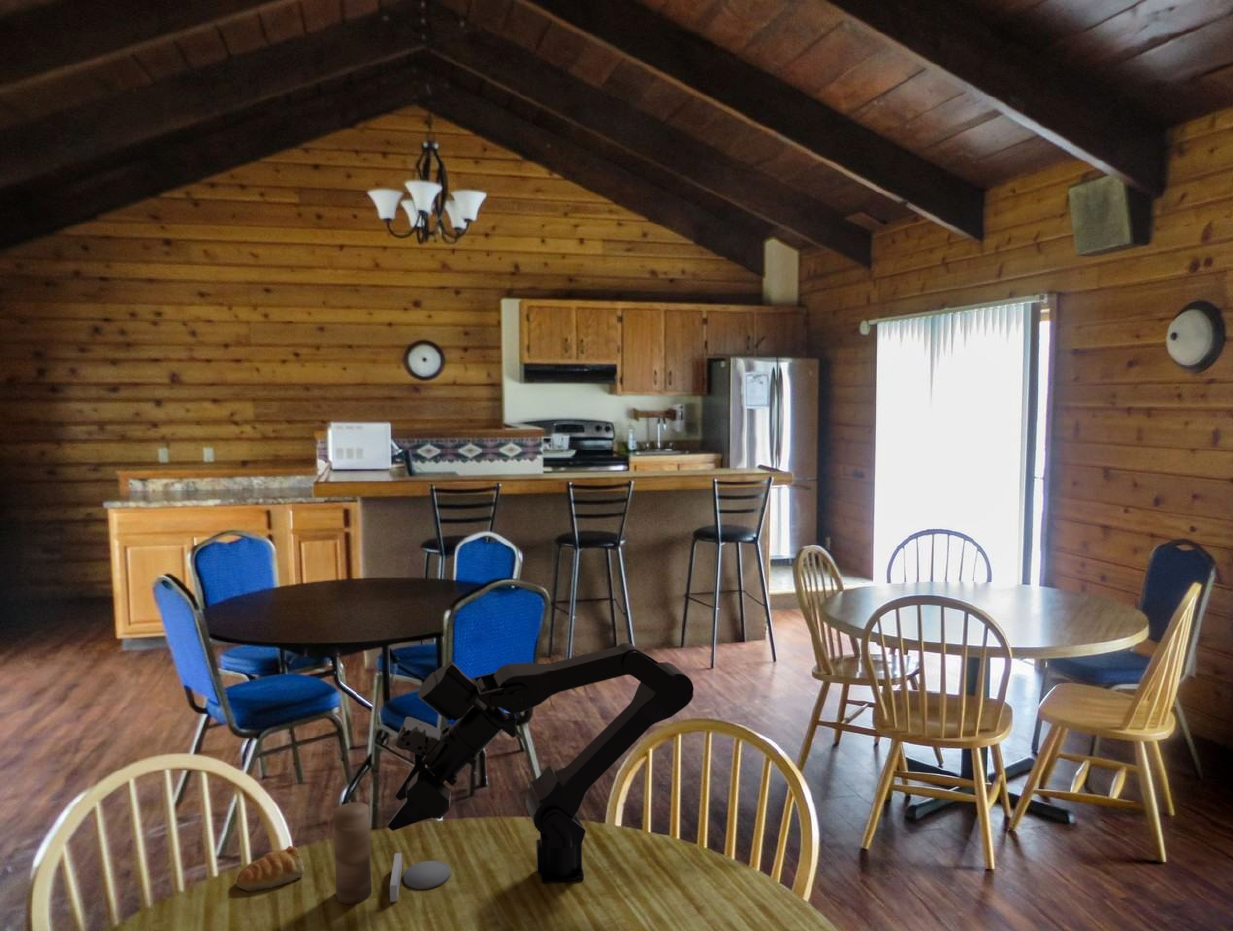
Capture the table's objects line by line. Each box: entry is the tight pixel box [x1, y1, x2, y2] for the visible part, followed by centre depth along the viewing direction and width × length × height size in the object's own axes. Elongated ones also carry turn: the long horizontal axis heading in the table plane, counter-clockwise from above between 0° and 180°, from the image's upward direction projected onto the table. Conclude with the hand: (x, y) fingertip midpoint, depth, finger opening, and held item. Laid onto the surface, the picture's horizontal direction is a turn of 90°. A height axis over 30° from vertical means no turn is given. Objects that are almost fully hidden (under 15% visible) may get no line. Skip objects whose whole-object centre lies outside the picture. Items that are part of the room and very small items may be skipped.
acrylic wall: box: [389, 852, 403, 903], centre depth 133 cm, size 1×9×2 cm, turn 9°
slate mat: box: [403, 860, 451, 890], centre depth 136 cm, size 7×7×1 cm
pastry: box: [236, 845, 305, 892], centre depth 135 cm, size 9×7×4 cm
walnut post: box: [333, 801, 372, 905], centre depth 130 cm, size 5×5×13 cm
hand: (393, 812), depth 131 cm, fingers open, 9 cm apart
